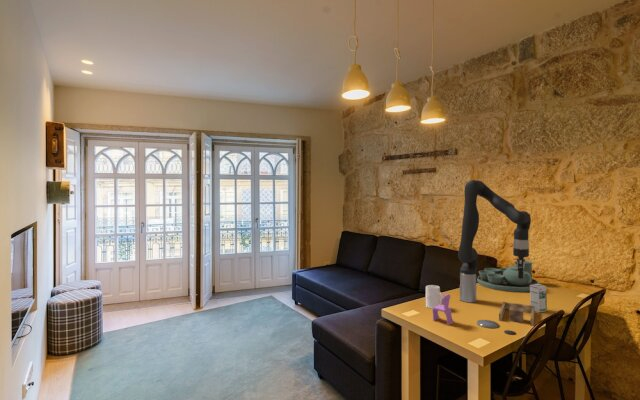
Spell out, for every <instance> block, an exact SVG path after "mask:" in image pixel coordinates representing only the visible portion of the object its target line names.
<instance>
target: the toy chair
mask: <svg viewBox="0 0 640 400" xmlns="http://www.w3.org/2000/svg"><path fill="white" fill-rule="evenodd" d="M443 296H444V297H443V298H442V300H441V299H440V302H441V304H443V305H438V306H436V307H433V309H432V321H433V322H435V321H437V320H439V319H440V316H439V315H440V314H439V311H441V312H442V313H444V315H445V317H446V326H449V325H451V324H453V323H454V319H453V315H452V309H451V307H450V306H449V304H450V299H451V294H449V293H447V294H445V295H443ZM438 318H439V319H438ZM436 319H437V320H436ZM434 320H435V321H434ZM452 322H453V323H452ZM450 323H451V324H450ZM448 324H449V325H448Z"/></svg>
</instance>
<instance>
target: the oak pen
mask: <svg viewBox="0 0 640 400" xmlns="http://www.w3.org/2000/svg"><path fill="white" fill-rule="evenodd" d="M510 307H517V308H523V313H524V312H525V313H530V327H534V322H535V314H536V313H535V312H536V311H534V306H530V305H528V304H521V303H514V302H508V301H507V302H505V301H503V302H502V304H501V308H500V310H499V313H498V321H499V322H502V321H503V317H504V315H505V312H506V310H509V309H510Z"/></svg>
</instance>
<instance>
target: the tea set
mask: <svg viewBox="0 0 640 400" xmlns="http://www.w3.org/2000/svg"><path fill="white" fill-rule="evenodd" d="M514 264H515V265H510V266H509V267H508V265H505V267H501V268H495V267H485V268H484V270H478V274H479V275H478V276H477V278H476V283H477V284H479V285H480V286H482V287H485V288H488V289H492V290H495V291H496V290H497V291H503V292H510V293H511V292H512V293H518V292H519V293H528V292H529V293H530V285H533V284H541V283H540V282H539V281H538V280H536V279H534V278H533V266H532V264H533V261H531V260H526V259H525V266H524V268H523V270H524V271H523V279H521V278H518V267H517V259H516V260H514Z"/></svg>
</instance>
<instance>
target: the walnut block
mask: <svg viewBox="0 0 640 400" xmlns="http://www.w3.org/2000/svg"><path fill="white" fill-rule="evenodd" d="M508 310H509V311H508V312H509V313H508V314H509V319H508V320H509V322H512V323H513V322H514V323H519V324H523V323H524V311H523V308H517V307H510V309H508Z"/></svg>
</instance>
